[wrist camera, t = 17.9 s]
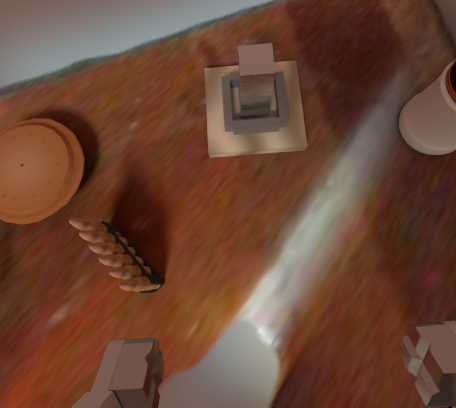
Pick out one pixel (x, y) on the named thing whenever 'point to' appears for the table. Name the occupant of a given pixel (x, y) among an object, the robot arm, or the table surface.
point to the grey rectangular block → (255, 79)
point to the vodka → (432, 116)
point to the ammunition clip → (119, 255)
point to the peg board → (254, 127)
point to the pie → (37, 169)
